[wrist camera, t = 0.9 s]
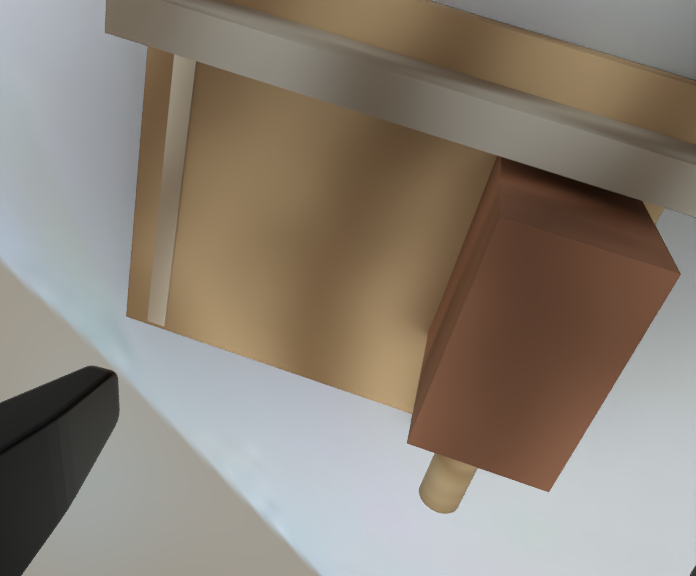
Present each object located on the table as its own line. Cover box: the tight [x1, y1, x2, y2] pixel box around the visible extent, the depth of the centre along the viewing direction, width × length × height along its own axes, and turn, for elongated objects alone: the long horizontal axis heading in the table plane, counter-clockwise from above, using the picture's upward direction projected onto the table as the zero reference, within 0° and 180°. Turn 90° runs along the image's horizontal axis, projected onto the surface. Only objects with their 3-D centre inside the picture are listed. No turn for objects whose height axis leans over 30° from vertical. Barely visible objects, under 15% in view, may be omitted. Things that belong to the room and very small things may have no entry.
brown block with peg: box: [407, 156, 681, 514], centre depth 19 cm, size 4×11×6 cm, turn 166°
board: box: [105, 0, 696, 414], centre depth 20 cm, size 16×14×4 cm
